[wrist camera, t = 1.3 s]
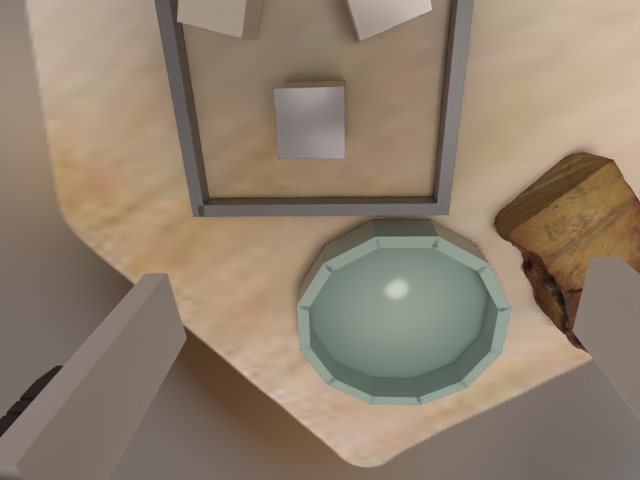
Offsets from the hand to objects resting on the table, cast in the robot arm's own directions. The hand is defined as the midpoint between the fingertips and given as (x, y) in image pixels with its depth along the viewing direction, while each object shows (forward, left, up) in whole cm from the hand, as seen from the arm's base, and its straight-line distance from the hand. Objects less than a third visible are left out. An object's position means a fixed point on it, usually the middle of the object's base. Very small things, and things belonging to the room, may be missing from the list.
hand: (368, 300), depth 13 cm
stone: (+8, +18, -22) cm, 29 cm away
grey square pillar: (-3, -3, -21) cm, 22 cm away
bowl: (+15, +4, -21) cm, 26 cm away
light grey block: (-11, -9, -21) cm, 25 cm away
